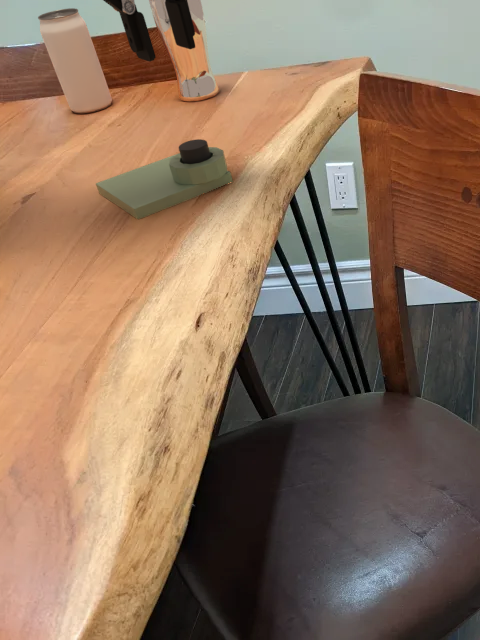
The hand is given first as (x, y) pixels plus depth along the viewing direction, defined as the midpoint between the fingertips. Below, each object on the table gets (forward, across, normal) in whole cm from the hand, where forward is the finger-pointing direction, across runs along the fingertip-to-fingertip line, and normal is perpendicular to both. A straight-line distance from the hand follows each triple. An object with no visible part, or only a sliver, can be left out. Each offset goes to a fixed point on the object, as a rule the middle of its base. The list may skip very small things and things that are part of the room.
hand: (166, 50), depth 70 cm
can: (+13, -4, -43) cm, 45 cm away
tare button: (+11, 0, 0) cm, 11 cm away
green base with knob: (+13, +4, -3) cm, 14 cm away
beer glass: (+13, -16, -32) cm, 38 cm away
